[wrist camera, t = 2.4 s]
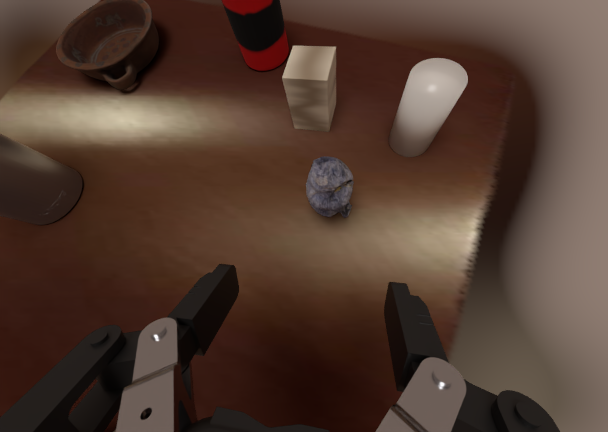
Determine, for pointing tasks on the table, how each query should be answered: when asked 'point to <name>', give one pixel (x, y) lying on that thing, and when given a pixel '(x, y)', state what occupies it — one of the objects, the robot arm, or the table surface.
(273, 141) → the table surface
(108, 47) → the dish
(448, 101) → the ceramic cylinder
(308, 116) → the birch block
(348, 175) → the fossil stone
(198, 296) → the robot arm
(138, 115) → the table surface
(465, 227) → the table surface
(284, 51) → the soda can
